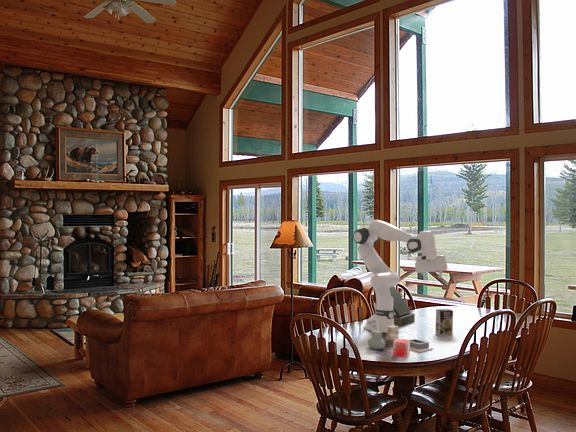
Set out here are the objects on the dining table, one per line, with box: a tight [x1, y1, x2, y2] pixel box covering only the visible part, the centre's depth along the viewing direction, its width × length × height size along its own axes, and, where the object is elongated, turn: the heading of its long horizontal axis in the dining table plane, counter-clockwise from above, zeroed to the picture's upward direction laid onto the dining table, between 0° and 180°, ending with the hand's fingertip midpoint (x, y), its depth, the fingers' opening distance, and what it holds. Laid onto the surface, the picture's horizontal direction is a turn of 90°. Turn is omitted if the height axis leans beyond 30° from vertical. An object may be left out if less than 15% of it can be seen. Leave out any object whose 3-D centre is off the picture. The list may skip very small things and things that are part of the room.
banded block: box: [385, 325, 399, 345], centre depth 329 cm, size 4×6×10 cm, turn 124°
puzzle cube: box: [392, 338, 411, 358], centre depth 302 cm, size 8×8×8 cm
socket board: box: [409, 338, 434, 353], centre depth 317 cm, size 14×11×4 cm
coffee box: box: [435, 308, 454, 337], centre depth 353 cm, size 9×6×16 cm
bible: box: [389, 286, 416, 328], centre depth 390 cm, size 23×20×25 cm
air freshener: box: [367, 330, 386, 351], centre depth 315 cm, size 11×8×10 cm
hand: (433, 279), depth 333 cm, fingers open, 8 cm apart
